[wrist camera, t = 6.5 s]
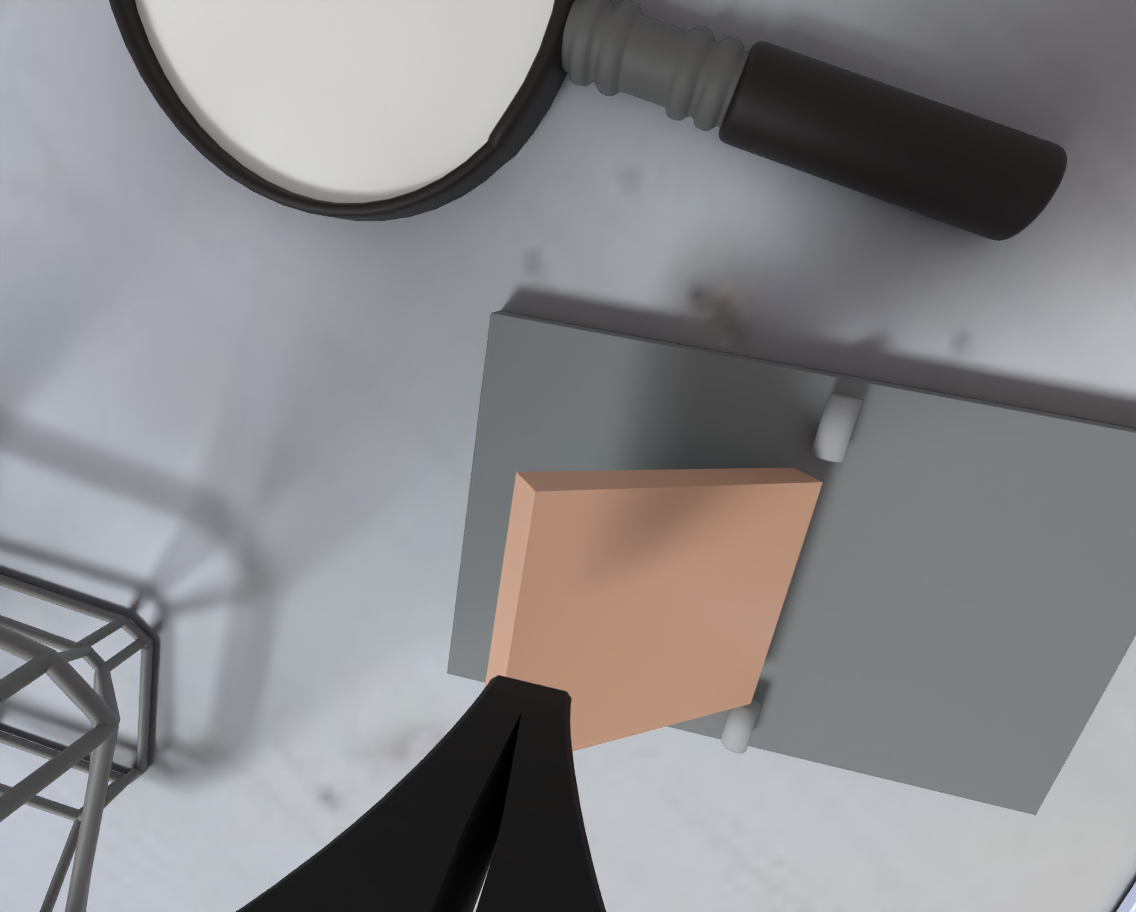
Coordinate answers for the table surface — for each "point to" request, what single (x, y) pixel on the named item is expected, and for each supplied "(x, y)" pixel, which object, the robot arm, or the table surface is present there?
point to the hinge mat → (851, 547)
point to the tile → (647, 589)
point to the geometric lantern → (96, 742)
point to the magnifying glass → (539, 103)
